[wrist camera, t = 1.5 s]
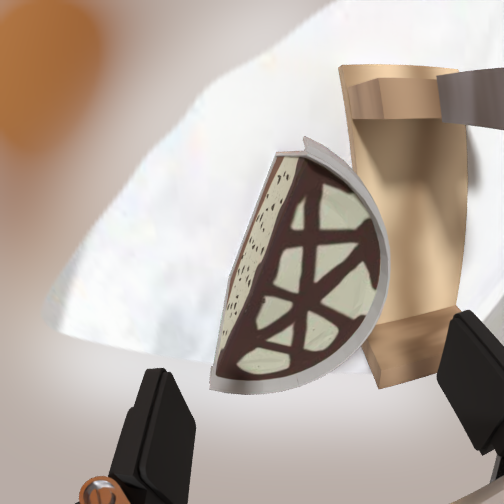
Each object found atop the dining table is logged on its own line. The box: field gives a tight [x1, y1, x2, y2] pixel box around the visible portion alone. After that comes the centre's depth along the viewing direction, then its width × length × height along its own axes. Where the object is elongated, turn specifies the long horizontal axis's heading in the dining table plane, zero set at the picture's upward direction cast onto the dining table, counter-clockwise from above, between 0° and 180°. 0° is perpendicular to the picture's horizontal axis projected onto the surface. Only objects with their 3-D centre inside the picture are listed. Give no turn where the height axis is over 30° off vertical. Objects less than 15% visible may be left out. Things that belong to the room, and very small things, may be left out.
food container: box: [209, 136, 391, 395], centre depth 17 cm, size 12×6×10 cm, turn 160°
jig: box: [338, 64, 468, 389], centre depth 18 cm, size 9×21×6 cm, turn 10°
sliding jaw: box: [348, 68, 504, 130], centre depth 11 cm, size 9×2×11 cm, turn 100°
